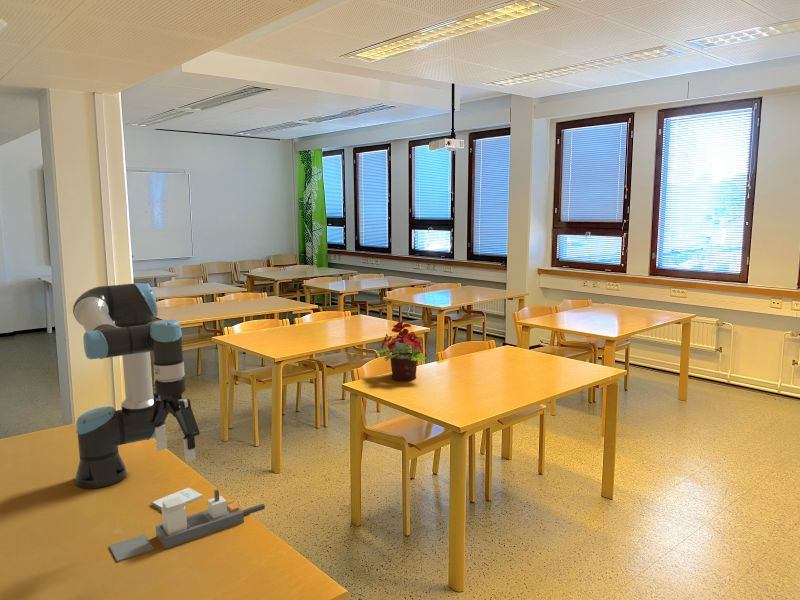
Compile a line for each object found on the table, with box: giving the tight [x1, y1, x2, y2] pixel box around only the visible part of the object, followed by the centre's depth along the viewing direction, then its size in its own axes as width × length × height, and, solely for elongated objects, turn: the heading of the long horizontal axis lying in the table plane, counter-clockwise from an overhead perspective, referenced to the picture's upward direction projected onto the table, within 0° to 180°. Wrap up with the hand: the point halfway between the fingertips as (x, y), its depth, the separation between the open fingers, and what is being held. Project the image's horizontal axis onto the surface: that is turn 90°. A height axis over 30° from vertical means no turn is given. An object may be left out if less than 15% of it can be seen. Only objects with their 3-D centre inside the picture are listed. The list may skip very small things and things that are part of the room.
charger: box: [161, 497, 187, 536], centre depth 166 cm, size 5×5×8 cm
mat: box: [108, 534, 155, 563], centre depth 162 cm, size 9×9×1 cm
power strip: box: [155, 489, 266, 550], centre depth 172 cm, size 30×8×10 cm, turn 127°
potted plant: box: [373, 321, 428, 382], centre depth 313 cm, size 30×27×30 cm
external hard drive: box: [151, 487, 204, 512], centre depth 187 cm, size 2×8×12 cm
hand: (176, 454), depth 165 cm, fingers open, 13 cm apart
